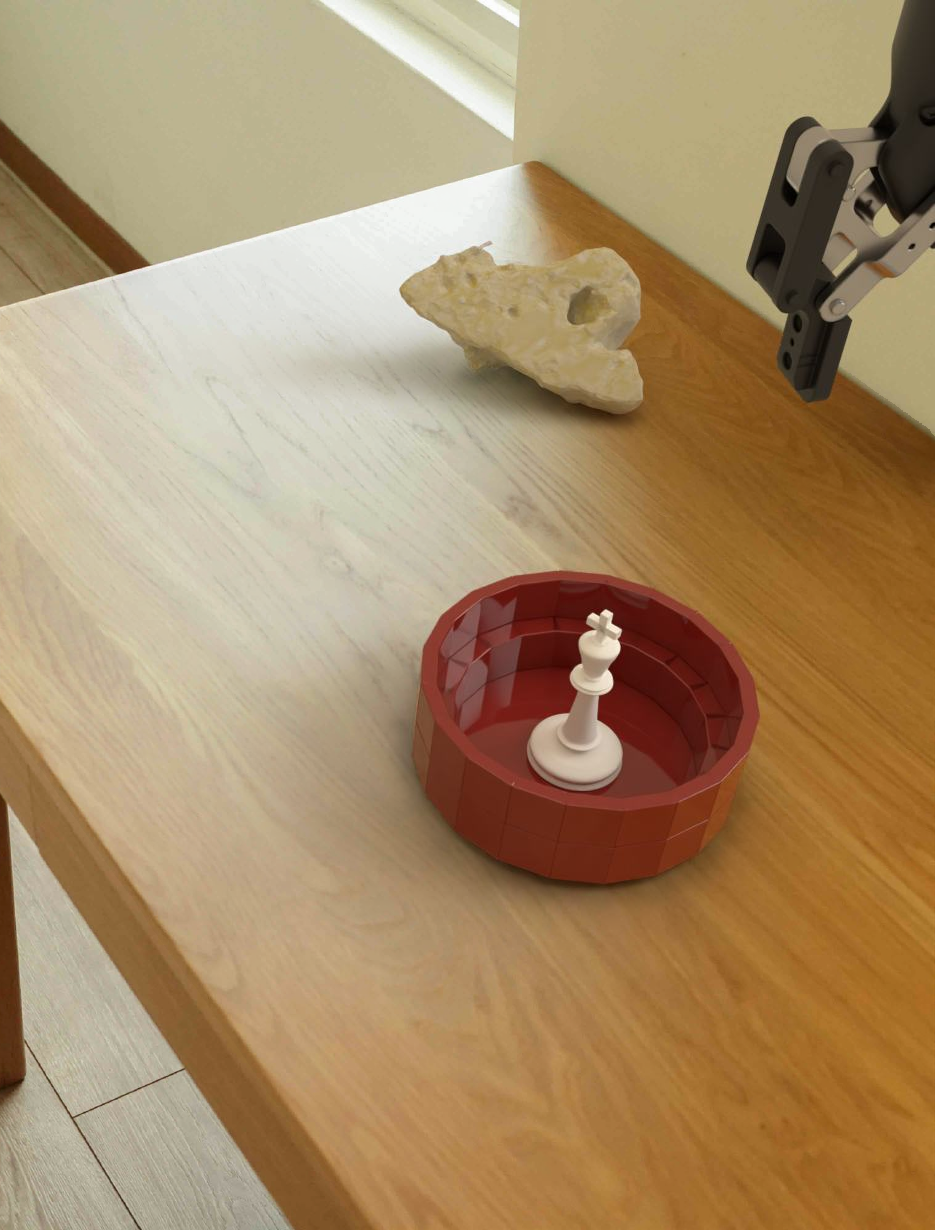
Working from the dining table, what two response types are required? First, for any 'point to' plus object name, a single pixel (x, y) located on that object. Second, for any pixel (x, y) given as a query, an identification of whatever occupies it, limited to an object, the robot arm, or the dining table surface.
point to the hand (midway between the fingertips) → (907, 372)
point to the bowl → (633, 709)
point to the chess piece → (582, 720)
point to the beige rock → (540, 320)
